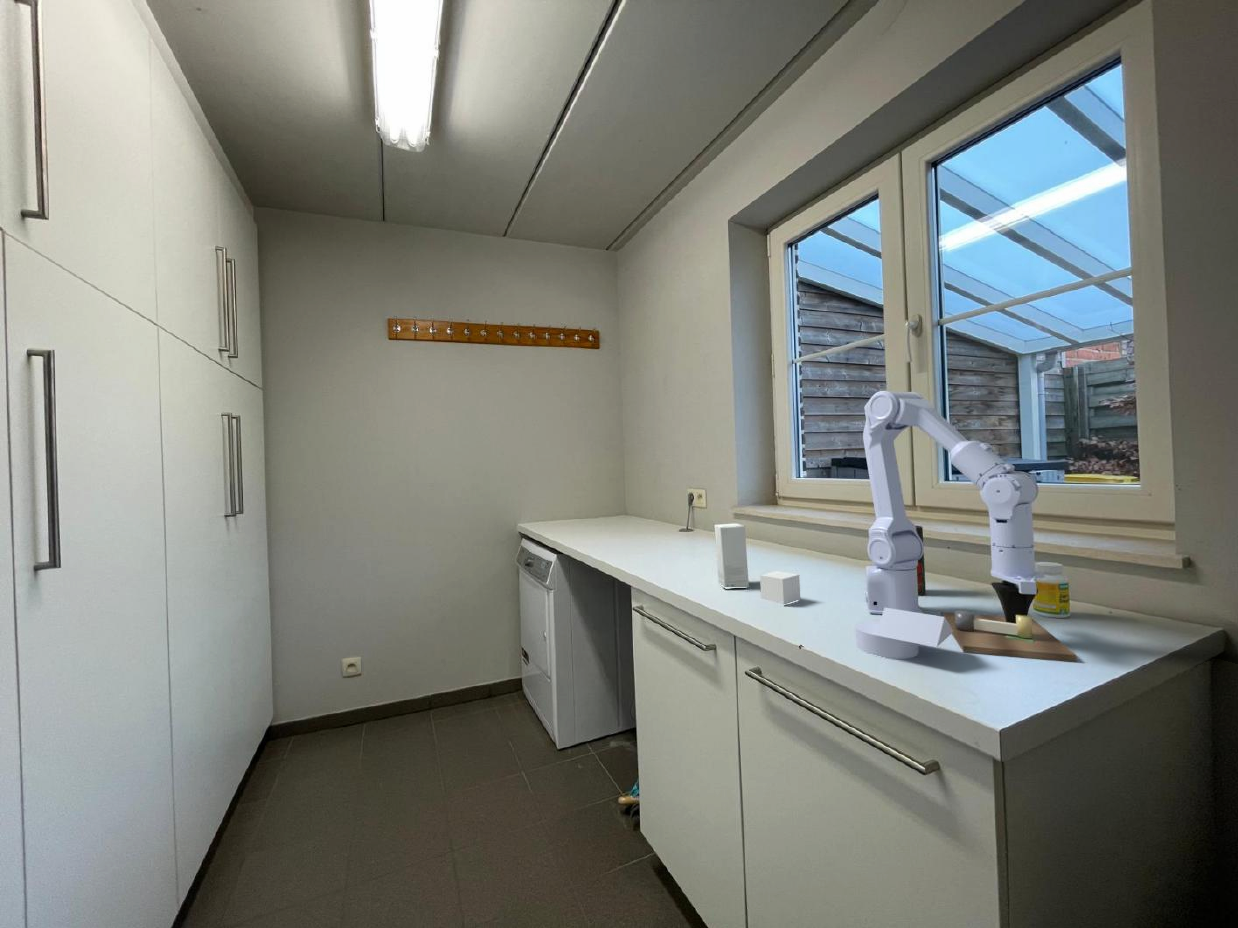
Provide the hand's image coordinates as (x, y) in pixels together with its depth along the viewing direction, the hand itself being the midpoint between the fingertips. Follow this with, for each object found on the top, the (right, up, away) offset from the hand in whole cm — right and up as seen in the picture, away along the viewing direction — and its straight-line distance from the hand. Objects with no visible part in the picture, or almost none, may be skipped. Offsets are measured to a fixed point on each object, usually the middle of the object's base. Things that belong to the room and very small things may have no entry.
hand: (1016, 627), depth 85 cm
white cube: (-30, -4, +30) cm, 42 cm away
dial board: (-1, -2, +2) cm, 3 cm away
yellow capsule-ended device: (-3, -1, +1) cm, 4 cm away
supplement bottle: (+16, -2, +12) cm, 20 cm away
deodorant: (+1, -2, +32) cm, 32 cm away
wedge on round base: (-21, -3, -3) cm, 21 cm away
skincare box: (-37, -4, +46) cm, 59 cm away
